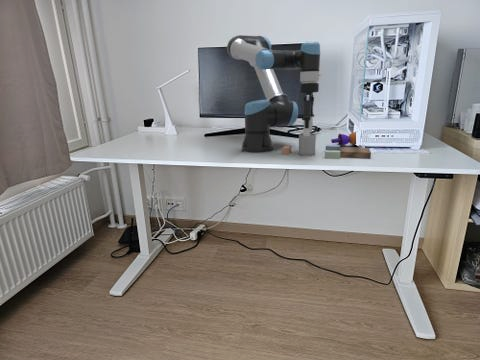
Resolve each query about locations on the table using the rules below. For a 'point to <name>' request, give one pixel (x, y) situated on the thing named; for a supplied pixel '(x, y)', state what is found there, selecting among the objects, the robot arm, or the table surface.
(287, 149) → the brick terracotta
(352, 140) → the toy
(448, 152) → the table surface
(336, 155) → the brick sage
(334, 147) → the brick blue
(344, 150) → the slab
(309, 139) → the cup
